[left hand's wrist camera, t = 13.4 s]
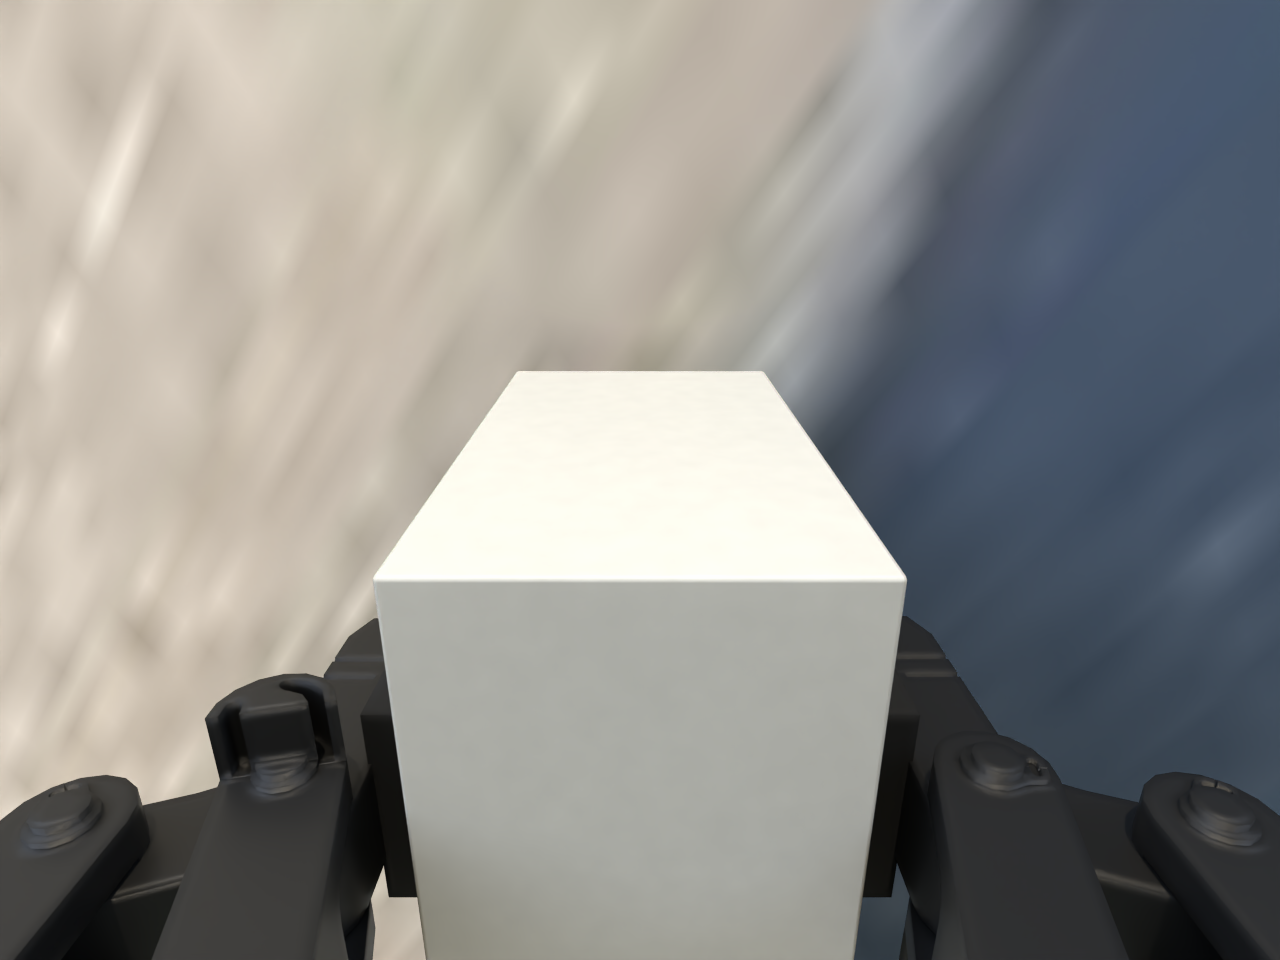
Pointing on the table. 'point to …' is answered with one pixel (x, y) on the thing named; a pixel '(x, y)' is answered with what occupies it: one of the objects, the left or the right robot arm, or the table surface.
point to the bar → (639, 678)
